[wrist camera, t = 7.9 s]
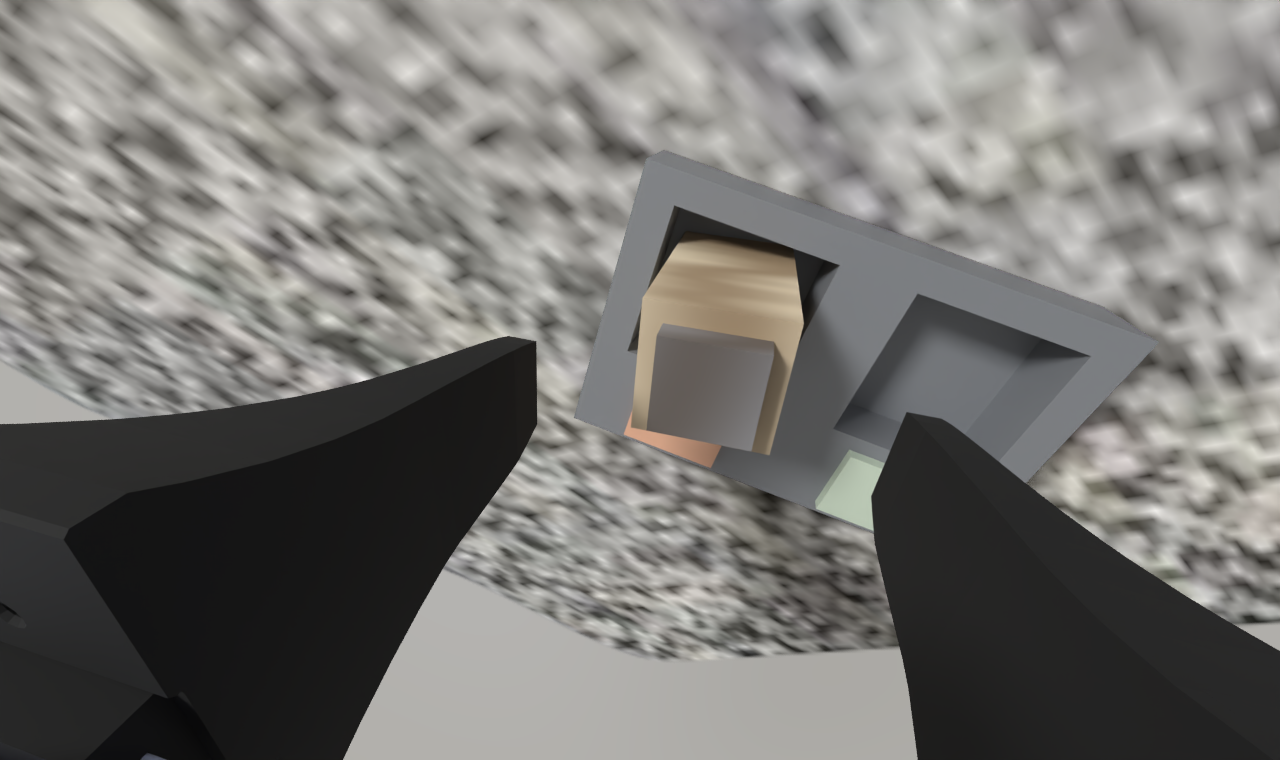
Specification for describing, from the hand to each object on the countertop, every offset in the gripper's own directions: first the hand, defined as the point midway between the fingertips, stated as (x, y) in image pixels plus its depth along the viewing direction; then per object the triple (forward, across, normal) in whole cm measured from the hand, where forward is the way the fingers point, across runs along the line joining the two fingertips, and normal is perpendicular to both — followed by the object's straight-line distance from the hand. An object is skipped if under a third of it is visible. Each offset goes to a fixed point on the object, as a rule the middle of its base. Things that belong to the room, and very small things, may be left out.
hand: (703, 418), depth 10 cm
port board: (+9, -3, +2) cm, 9 cm away
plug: (+8, 0, 0) cm, 8 cm away
